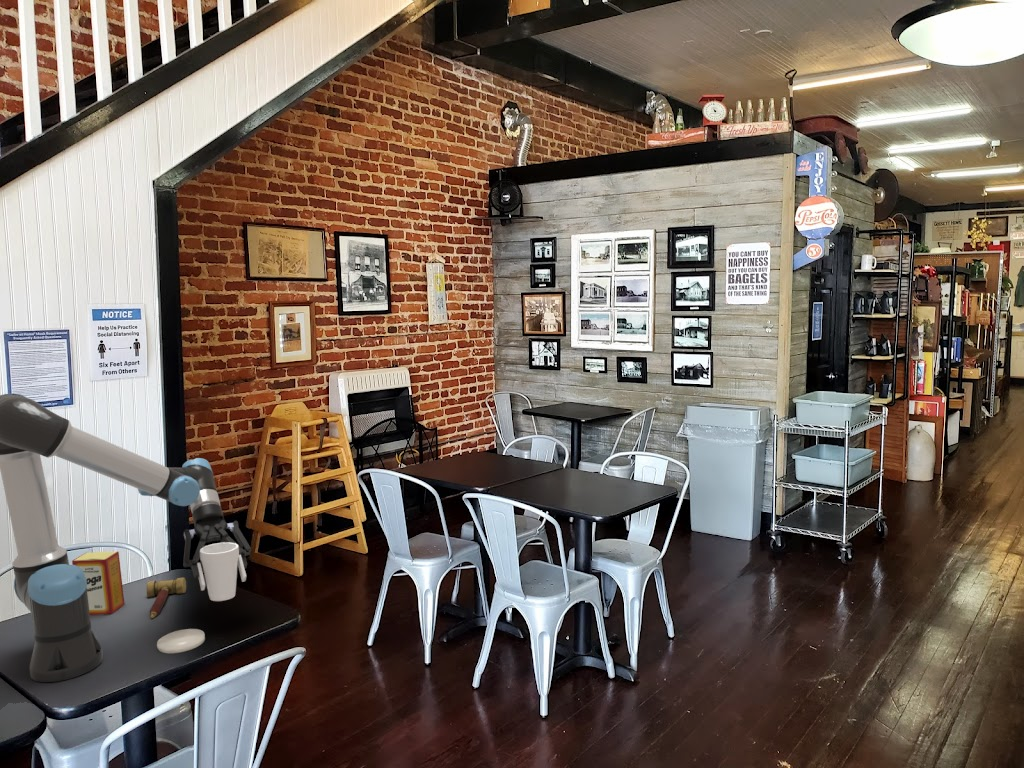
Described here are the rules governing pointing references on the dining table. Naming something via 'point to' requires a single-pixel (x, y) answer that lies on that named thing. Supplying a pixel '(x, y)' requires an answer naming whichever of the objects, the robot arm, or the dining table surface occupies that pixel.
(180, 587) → the gavel
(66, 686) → the dining table surface
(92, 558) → the baking soda box
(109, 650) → the dining table surface
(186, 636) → the plate
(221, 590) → the foam cup
